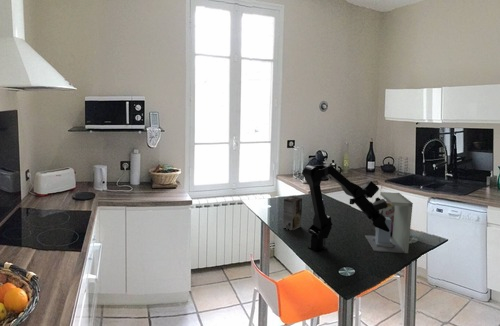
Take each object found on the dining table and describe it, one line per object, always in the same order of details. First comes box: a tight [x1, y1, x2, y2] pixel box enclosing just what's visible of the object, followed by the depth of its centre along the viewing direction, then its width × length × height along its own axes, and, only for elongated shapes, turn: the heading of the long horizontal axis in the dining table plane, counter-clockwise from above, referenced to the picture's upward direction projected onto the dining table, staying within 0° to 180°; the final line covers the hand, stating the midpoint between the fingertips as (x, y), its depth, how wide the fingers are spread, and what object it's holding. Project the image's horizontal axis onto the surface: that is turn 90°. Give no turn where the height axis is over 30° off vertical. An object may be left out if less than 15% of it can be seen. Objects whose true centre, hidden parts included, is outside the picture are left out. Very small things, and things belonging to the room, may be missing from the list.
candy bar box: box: [374, 200, 395, 233], centre depth 196 cm, size 11×5×16 cm, turn 108°
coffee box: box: [282, 196, 303, 231], centre depth 199 cm, size 9×6×16 cm
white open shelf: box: [364, 191, 414, 254], centre depth 177 cm, size 15×20×24 cm
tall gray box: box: [374, 217, 392, 244], centre depth 177 cm, size 6×5×12 cm
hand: (386, 228), depth 177 cm, fingers open, 9 cm apart
